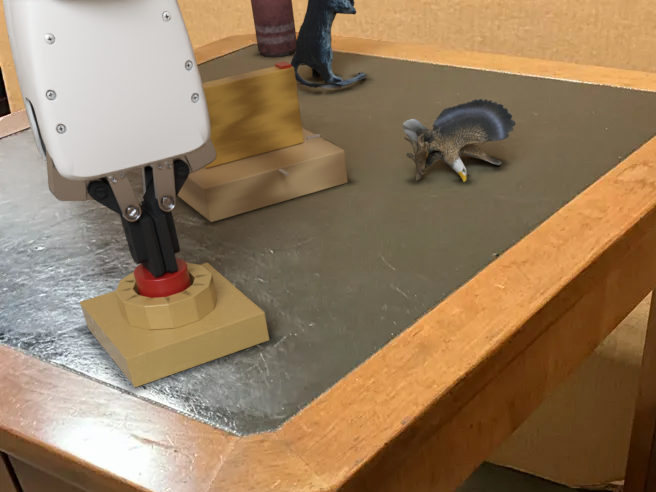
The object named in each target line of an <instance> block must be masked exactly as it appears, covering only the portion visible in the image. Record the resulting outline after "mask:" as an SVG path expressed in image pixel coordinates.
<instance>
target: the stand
mask: <svg viewBox="0 0 656 492" xmlns="http://www.w3.org/2000/svg"><path fill="white" fill-rule="evenodd" d="M302 132H303V140H304V142H303V143H300V144H296V145H292V146H289V147H285V148H281V149H277V150H274V151H270V152H266V153H262V154H259V155H255V156H251V157H247V158H244V159H240V160H236V161H232V162H229V163H225V164H221V165H217V166H214V167H210V168H205V167H203V168H201V169H200V170H198V171H196V172H194V173H193V172H192V173H191V174H189V176H188V178H187V179H186V181H185V183H184V185H183V186H182V188H181V190H180V192H179V193H178V195H177V197H179V199H181V200H182V201H184V202H185V203H186V204H187V205H188V206H190V207H191V208H192V209H194V210H195V211H196V212H197V213H199V214H200V215H201V216H203V217H204V218H205V219H206V220H208V221H209V222H210V223H214V222H217V221H220V220H223V219H227V218H231V217H234V216H238V215H242V214H244V213H248V212H251V211H255V210H258V209H262V208H265V207H268V206H272V205H276V204H279V203H283V202H286V201H289V200H293V199H297V198H300V197H303V196H306V195H309V194H313V193H317V192H320V191H324V190H327V189H331V188H333V187H337V186H341V185H345V184H348V183H349V181H348V173H347V172H348V171H347V164H346V161H347V160H346V152H345V151H346V150H345V149H344V148H341V147H340V146H337V145H336V144H333V142H332V143H331V142H330V141H329V140H327V139H325V138H323V137H321V136H322V135H321V133H316V134H315V133H314V132H311V131H310V130H307V129H306V128H304V127H302Z"/></svg>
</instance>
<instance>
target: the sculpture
mask: <svg viewBox="0 0 656 492" xmlns="http://www.w3.org/2000/svg"><path fill="white" fill-rule="evenodd" d="M355 3H356V2H355V0H307V6H306V11H305V14H304V18H303V20H302V23H301V25H300V26H299V29H298V30H299V31H298V34H297V36H296V39H297V41H296V51H295V52H294V53H293V56H292V57H291V61H290V64H291V66H292V67H294V70H295V78H296V82H297V83H298V84H300V85H302V86H304V87H305V86H306V87H309V88H314V89H318V88H320V89H321V88H323V89H326V90H339V89H342V88H344V87H347V86H349V85H352V84H354V83H357V82H359V81H362V80H363V79H366V78H367V76H366V73H365V72H358V73H357V75H356V76H355V77H352V78H348V79H344V80H343V78H342V77H341V76H337V75H335V74H334V72H333V67H332V65H333V60H334V52H333V47H332V40H333V39H332V26H333V23H334V21H335V19H336V16H337V14H339V15H341V14H342V15H354V16H355V15H356V14H357V10H356V7H354V6H355ZM300 66H307V67H309V68H311V77H312V78H313V80H315V81H317V80H318V79H319V78H320V77H321V78H322V79H323V81H324V83H319V82H309V81H307V80H305V78H302V77H301V76H300V74H299V73H298V69H299V67H300Z"/></svg>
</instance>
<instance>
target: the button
mask: <svg viewBox="0 0 656 492" xmlns="http://www.w3.org/2000/svg"><path fill="white" fill-rule="evenodd" d="M175 258H176V262H177V266H178V271H176V272H173V273H169V272H166V271H165V273H163V276H160V277H157V278H155V277H154V276H153V275H152V274H151V273H150V272H149V271H148V270H147V269H146V268H145V267H144V266H143V265H142V264H137V266H136V267H135V268H134V270H133V272H134V277H135V280H136V284H137V288H138V291H139V295H141V296H145V297H150V298H158V297H167V296H171V295H174V294H177V293H180V292H183V291H184V290H186V289H187V288H189V287H190V286H191V281H190V277H189V272H188V268H187V264H186V262H187V261H185V260H184V259H182V258H180V257H176V256H175Z"/></svg>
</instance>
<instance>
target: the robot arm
mask: <svg viewBox="0 0 656 492" xmlns="http://www.w3.org/2000/svg"><path fill="white" fill-rule="evenodd" d="M2 5H3V13H4V14H3V15H4V20H5V25H6V26H5V27H6V31H7V37H8V42H9V47H10V51H11V56H12V60H13V66H14V69H15V73H16V78H17V83H18V86H19V90H20V94H21V97H22V102H23V105H24V109H25V114H26V116H27V120H28V124H29V128H30V131H31V134H32V137H33V140H34V143H35V146H36V149H37V150H38V154H40V156H41V159H43V161H44V162H46V170H47V171H46V172H47V184H48V191H49V192H50V193H51V194H52V195H53V197H54V198H55V199H57V200H58V201H60V202H88V201H96V202H97V203H99V204H100V205H102V206H104V207H105V208H108V209H109V210H111V211H112V212H114V213H116V214H117V215H119V217H120V220H121V225H122V228H123V232H124V236H125V239H126V243H127V246H128V250H129V253H130V257H131V258H132V261H133V262H134V263H135V264H136V265H140V264H142V265H143V266H144V267H145V268H146V269H147V270H148V271H149V272H150V273H151V274H152V275H153V276H154V277H155V278H157V277H160V276H163V273H165V271H166V272H169V273H173V272H176V271H178V266H177V262H176V258H177V257H176V254H179V253H181V245H180V242H179V238H178V237H179V236H178V233H177V228H176V225H175V224H176V223H175V221H174V216H173V212H172V211H174V210H175V209H176V207H177V197H178V196H177V195H178V193H179V192H180V190H181V188H182V186H183V185H184V183H185V181H186V179H187V178H188V176H189V174H191V173H192V172H193V173H194V172H196V171H198V170H200V169H201V168H203V167H205V166H207V165H208V164H210V163H212V162H213V161H214V160H215V159H216V155H217V154H216V150H215V148H214V146H213V144H212V141H211V139H210V137H211V125H210V117H209V111H208V106H207V102H206V97H205V93H204V89H203V84H202V83H203V80H202V77H201V73H200V69H199V66H198V62H197V58H196V54H195V51H194V47H193V44H192V40H191V38H190V34H189V32H188V31H189V30H188V28H187V26H186V22H185V19H184V17H183V13H182V10H181V8H180V5H179V2H178V0H2ZM137 169H140V170H141V178H142V179H141V180H142V187H143V193H144V194H143V195H142V199H143V200H141V201H140V202H139V200H138V198H137V196H136V194H135V191H134V188H133V186H132V184H131V181H130V178H129V177H128V174H127V172H130V171H134V170H137ZM175 257H176V258H175Z"/></svg>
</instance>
